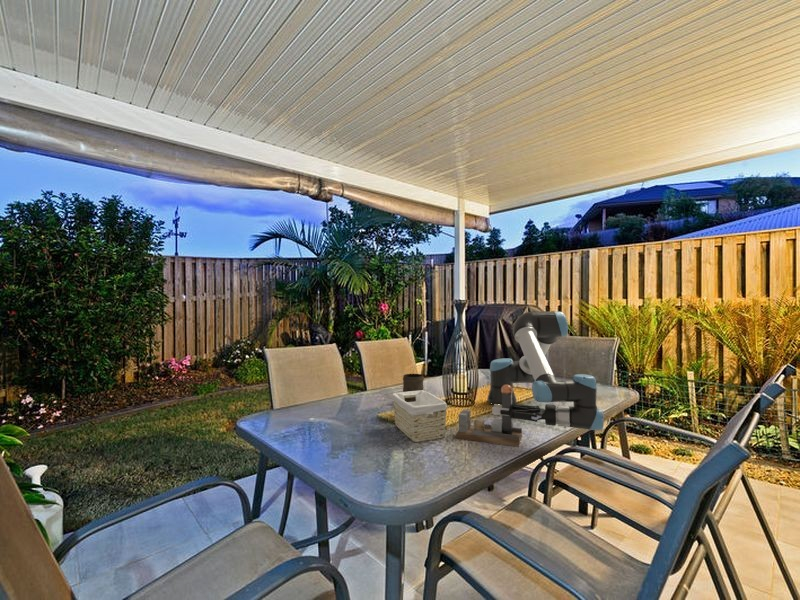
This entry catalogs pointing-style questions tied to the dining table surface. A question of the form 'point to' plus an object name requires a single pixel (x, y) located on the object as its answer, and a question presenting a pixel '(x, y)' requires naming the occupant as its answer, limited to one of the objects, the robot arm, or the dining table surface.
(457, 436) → the base
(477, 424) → the tan rounded cylinder
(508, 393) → the handle
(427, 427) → the storage basket
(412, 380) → the beer stein
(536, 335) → the robot arm
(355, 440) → the dining table surface
